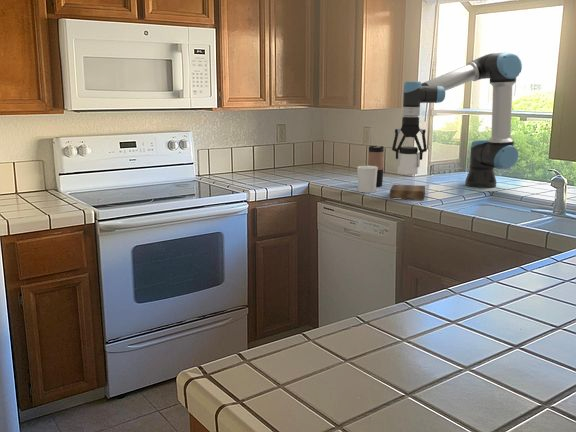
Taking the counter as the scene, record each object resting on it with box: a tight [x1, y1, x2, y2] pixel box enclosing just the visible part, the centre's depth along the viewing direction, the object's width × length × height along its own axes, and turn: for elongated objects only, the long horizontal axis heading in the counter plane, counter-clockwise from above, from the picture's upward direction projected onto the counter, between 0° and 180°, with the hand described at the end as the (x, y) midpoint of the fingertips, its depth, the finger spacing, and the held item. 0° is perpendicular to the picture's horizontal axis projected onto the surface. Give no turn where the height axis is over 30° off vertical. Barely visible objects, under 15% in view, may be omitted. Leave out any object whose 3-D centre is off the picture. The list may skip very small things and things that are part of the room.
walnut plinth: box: [389, 184, 426, 201], centre depth 275 cm, size 15×15×4 cm
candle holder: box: [356, 165, 378, 194], centre depth 287 cm, size 10×10×12 cm
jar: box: [397, 146, 419, 176], centre depth 272 cm, size 9×8×12 cm
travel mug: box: [367, 145, 385, 188], centre depth 301 cm, size 8×8×20 cm
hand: (408, 166), depth 272 cm, fingers closed on jar, 8 cm apart
